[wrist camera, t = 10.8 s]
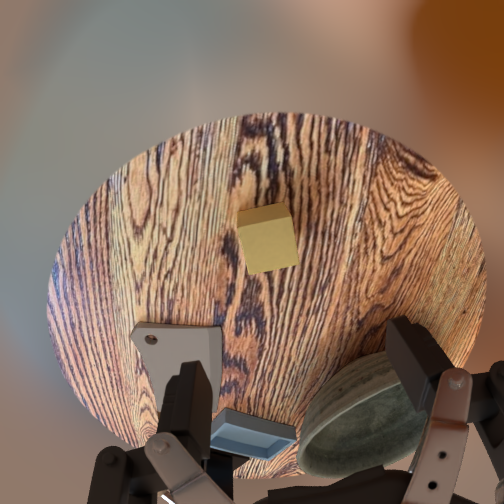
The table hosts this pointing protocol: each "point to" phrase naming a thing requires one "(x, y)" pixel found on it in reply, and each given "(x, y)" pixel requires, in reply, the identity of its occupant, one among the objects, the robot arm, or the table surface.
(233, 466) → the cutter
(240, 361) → the table surface
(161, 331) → the kitchen cleaver
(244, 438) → the butter dish
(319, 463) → the bowl
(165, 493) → the cutter lever
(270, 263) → the butter pat
